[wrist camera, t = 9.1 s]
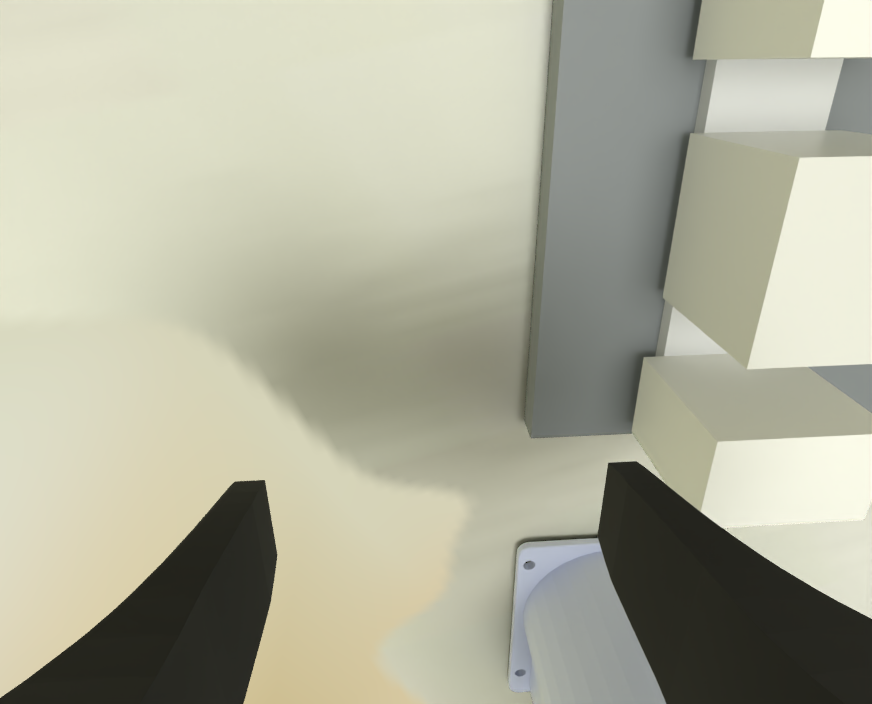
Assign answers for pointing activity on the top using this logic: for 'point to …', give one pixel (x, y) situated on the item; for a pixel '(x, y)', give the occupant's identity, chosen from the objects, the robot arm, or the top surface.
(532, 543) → the robot arm
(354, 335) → the top surface
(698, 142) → the block
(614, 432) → the rail panel
